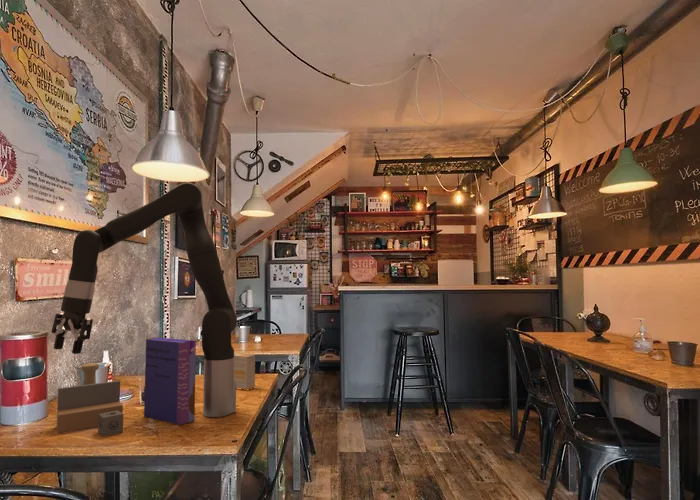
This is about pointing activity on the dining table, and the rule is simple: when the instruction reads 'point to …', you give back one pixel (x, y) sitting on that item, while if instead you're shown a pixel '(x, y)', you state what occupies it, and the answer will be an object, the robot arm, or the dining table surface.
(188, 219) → the robot arm
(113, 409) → the board
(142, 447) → the dining table surface
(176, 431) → the dining table surface
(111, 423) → the dice cube
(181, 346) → the cereal box
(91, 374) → the handle
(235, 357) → the supplement box
